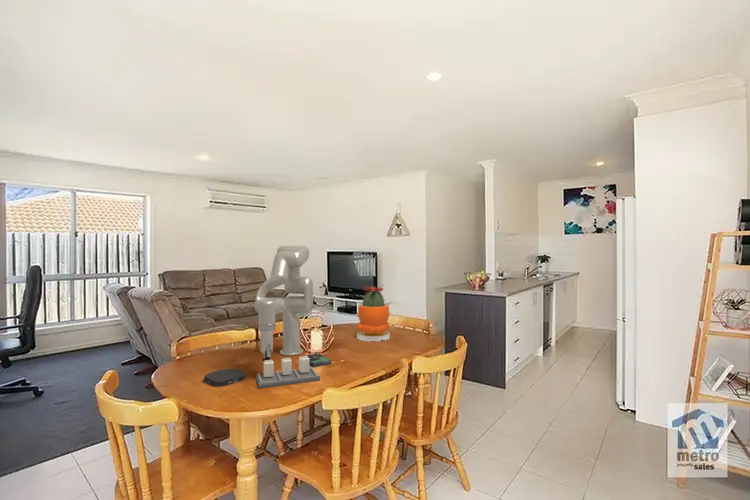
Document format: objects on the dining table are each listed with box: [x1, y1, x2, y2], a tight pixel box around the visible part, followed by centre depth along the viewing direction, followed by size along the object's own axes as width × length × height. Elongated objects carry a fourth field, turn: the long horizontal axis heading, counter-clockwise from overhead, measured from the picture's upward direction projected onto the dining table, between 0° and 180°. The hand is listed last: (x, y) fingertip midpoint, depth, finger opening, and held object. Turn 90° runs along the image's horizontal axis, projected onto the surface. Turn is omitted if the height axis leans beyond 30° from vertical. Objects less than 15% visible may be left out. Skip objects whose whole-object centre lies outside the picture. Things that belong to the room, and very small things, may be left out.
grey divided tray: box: [255, 366, 321, 389], centre depth 168 cm, size 14×26×2 cm, turn 113°
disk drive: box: [300, 353, 332, 369], centre depth 193 cm, size 10×3×15 cm
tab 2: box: [280, 357, 293, 375], centre depth 171 cm, size 4×4×7 cm
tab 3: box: [298, 355, 310, 373], centre depth 174 cm, size 4×4×7 cm
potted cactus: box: [356, 284, 392, 342], centre depth 242 cm, size 22×22×35 cm
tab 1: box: [262, 359, 275, 377], centre depth 168 cm, size 4×4×7 cm
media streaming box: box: [203, 368, 246, 387], centre depth 167 cm, size 15×15×3 cm
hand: (266, 366), depth 173 cm, fingers closed
